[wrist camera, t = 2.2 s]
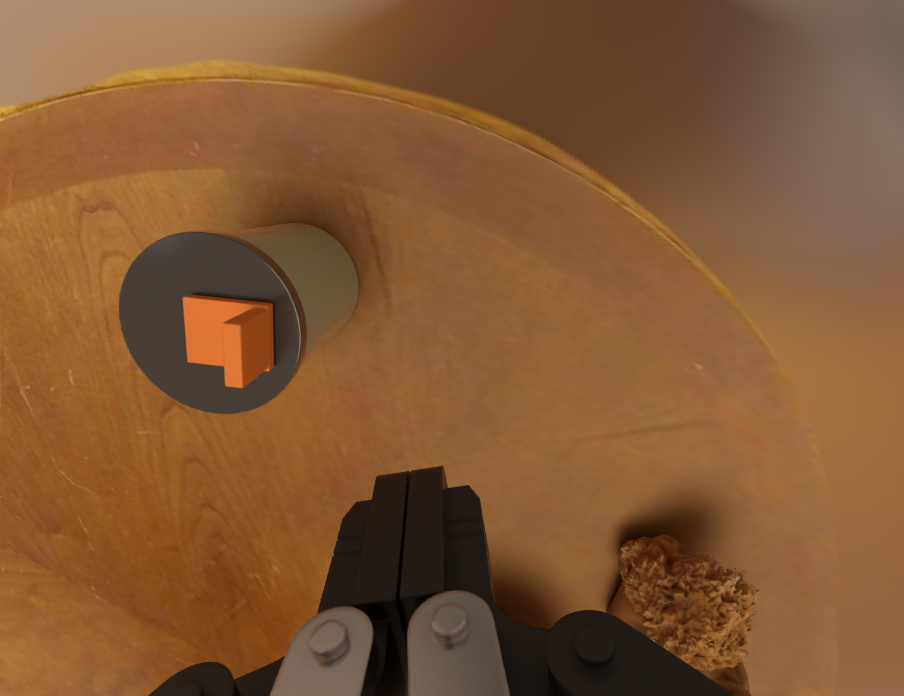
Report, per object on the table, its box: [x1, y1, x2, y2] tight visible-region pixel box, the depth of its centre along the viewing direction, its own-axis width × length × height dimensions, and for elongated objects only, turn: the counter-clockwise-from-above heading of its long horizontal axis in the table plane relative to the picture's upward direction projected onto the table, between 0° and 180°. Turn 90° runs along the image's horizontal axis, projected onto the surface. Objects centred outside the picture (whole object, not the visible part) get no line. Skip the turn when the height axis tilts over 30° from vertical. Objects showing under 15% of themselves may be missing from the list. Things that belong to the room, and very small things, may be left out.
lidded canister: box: [119, 222, 359, 414], centre depth 29 cm, size 9×9×12 cm
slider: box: [183, 294, 274, 388], centre depth 22 cm, size 4×3×3 cm
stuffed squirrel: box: [607, 535, 759, 696], centre depth 34 cm, size 10×14×13 cm
